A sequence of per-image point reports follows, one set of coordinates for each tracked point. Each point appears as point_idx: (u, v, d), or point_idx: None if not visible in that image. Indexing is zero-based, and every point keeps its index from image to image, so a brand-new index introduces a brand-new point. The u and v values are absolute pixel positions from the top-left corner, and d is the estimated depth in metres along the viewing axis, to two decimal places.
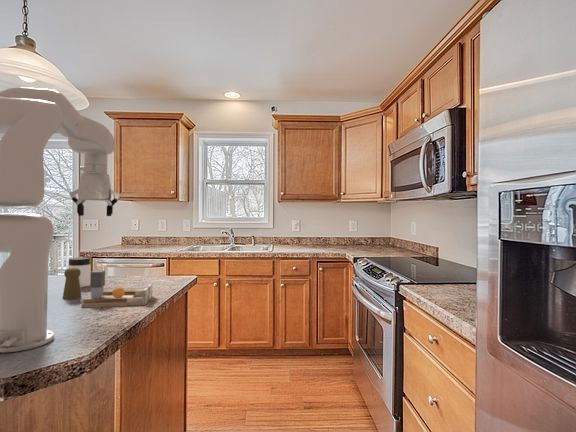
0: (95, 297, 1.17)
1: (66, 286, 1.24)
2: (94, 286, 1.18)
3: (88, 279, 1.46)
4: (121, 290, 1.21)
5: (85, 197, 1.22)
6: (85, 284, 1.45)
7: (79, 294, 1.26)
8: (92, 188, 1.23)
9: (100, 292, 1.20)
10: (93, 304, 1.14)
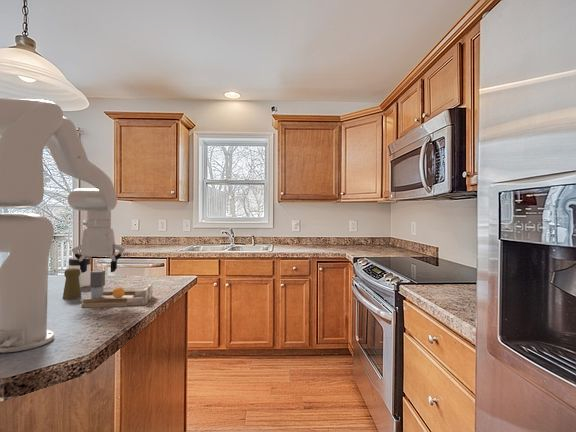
0: (95, 297, 1.17)
1: (66, 286, 1.24)
2: (94, 286, 1.18)
3: (88, 279, 1.46)
4: (121, 290, 1.21)
5: (88, 254, 1.18)
6: (85, 284, 1.45)
7: (79, 294, 1.26)
8: (95, 244, 1.18)
9: (100, 292, 1.20)
10: (93, 304, 1.14)
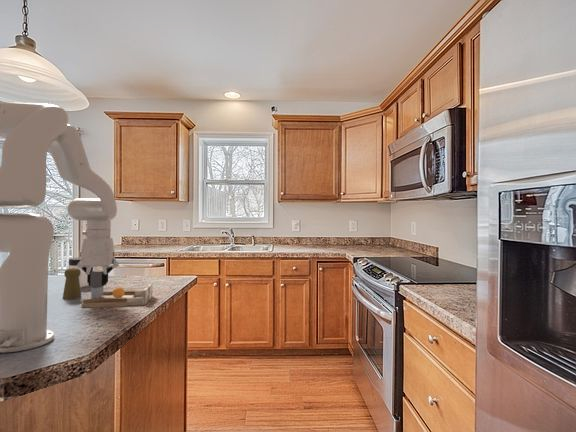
0: (95, 297, 1.17)
1: (66, 286, 1.24)
2: (94, 286, 1.18)
3: None
4: (121, 290, 1.21)
5: (87, 264, 1.17)
6: (85, 284, 1.45)
7: (79, 294, 1.26)
8: (94, 254, 1.18)
9: (100, 292, 1.20)
10: (93, 304, 1.14)
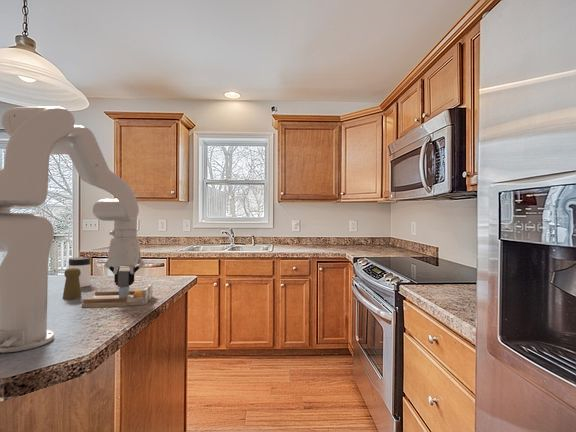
0: (122, 296, 1.19)
1: (66, 286, 1.24)
2: (121, 285, 1.20)
3: (88, 279, 1.46)
4: (133, 296, 1.22)
5: (115, 264, 1.19)
6: (85, 284, 1.45)
7: (79, 294, 1.26)
8: (122, 254, 1.19)
9: (126, 292, 1.22)
10: (93, 304, 1.14)
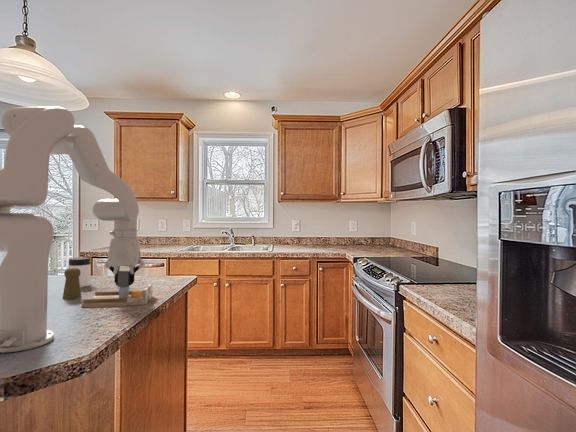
0: (123, 296, 1.19)
1: (66, 286, 1.24)
2: (121, 285, 1.20)
3: (88, 279, 1.46)
4: None
5: (115, 264, 1.19)
6: (85, 284, 1.45)
7: (79, 294, 1.26)
8: (122, 254, 1.19)
9: (126, 292, 1.22)
10: (93, 304, 1.14)
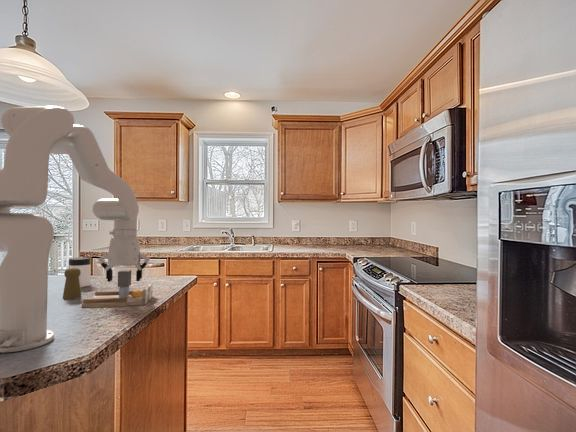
0: (123, 296, 1.19)
1: (66, 286, 1.24)
2: (121, 285, 1.20)
3: (88, 279, 1.46)
4: None
5: (115, 263, 1.19)
6: (85, 284, 1.45)
7: (79, 294, 1.26)
8: (122, 254, 1.19)
9: (126, 292, 1.22)
10: (93, 304, 1.14)
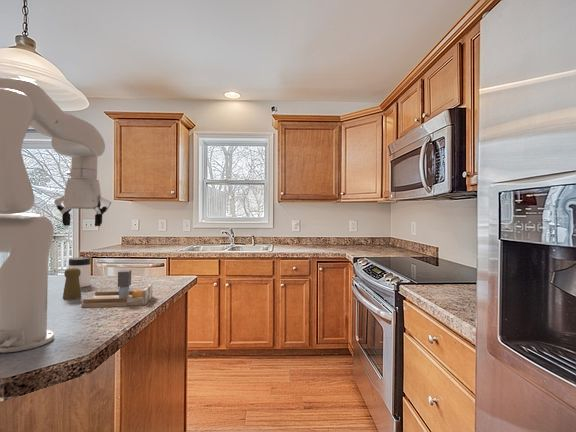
0: (123, 296, 1.19)
1: (66, 286, 1.24)
2: (121, 285, 1.20)
3: (88, 279, 1.46)
4: (132, 297, 1.22)
5: (71, 205, 1.10)
6: (85, 284, 1.45)
7: (79, 294, 1.26)
8: (78, 195, 1.10)
9: (126, 292, 1.22)
10: (93, 304, 1.14)
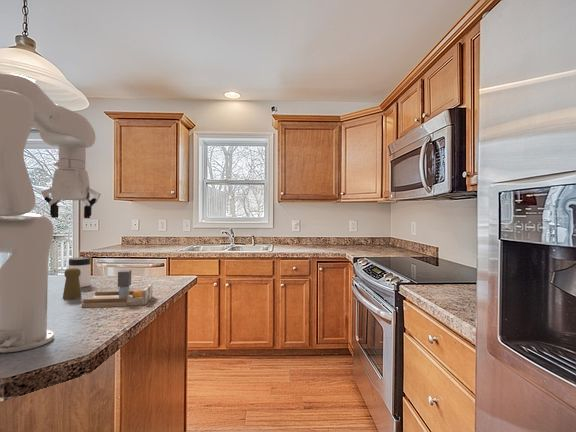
0: (123, 296, 1.19)
1: (66, 286, 1.24)
2: (121, 285, 1.20)
3: (88, 279, 1.46)
4: (133, 297, 1.22)
5: (59, 196, 1.07)
6: (85, 284, 1.45)
7: (79, 294, 1.26)
8: (67, 186, 1.08)
9: (126, 292, 1.22)
10: (93, 304, 1.14)
